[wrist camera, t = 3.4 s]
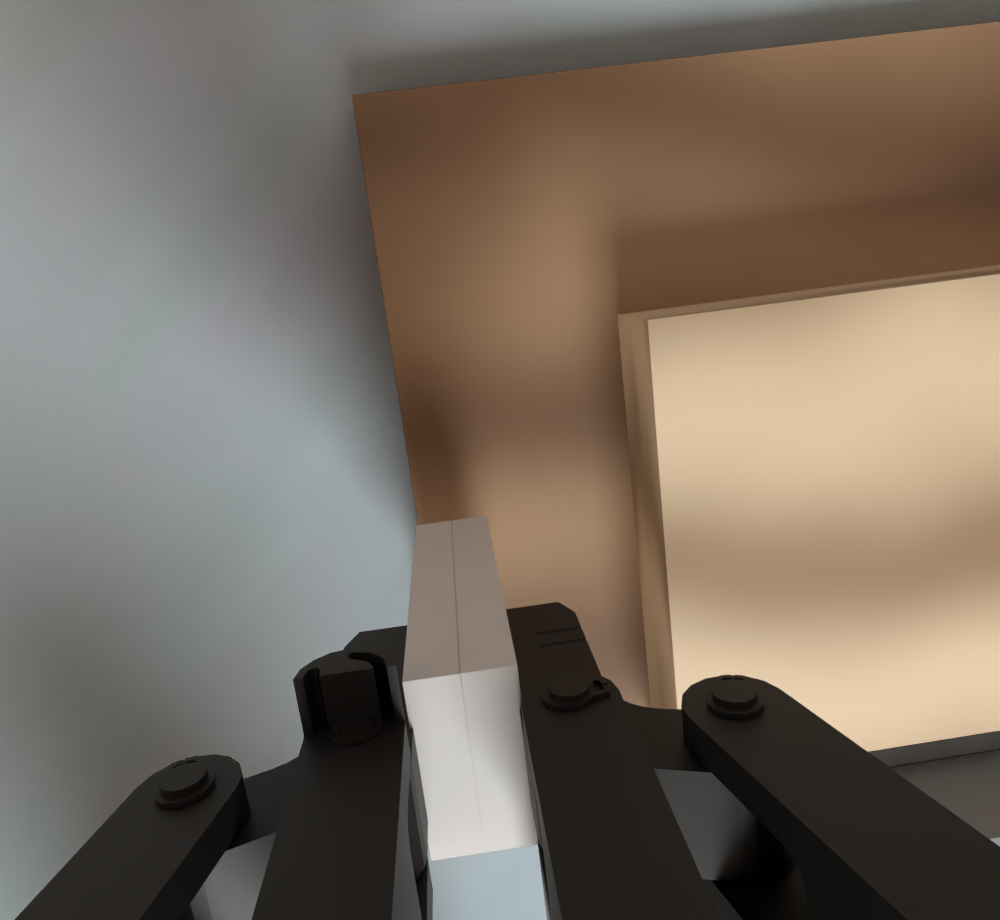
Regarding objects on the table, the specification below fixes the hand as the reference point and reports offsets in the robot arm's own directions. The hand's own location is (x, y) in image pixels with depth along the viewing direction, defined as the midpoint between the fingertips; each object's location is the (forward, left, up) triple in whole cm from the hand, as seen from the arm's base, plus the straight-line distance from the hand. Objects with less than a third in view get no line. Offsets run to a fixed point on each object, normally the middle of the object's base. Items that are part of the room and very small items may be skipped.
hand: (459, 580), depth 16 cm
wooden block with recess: (0, +11, -1) cm, 11 cm away
